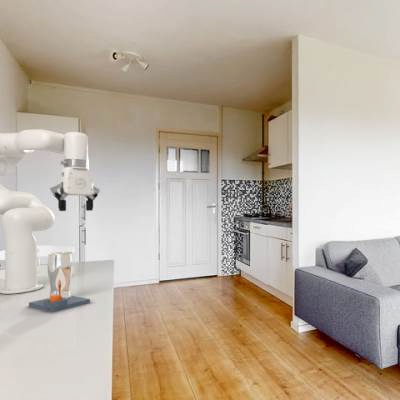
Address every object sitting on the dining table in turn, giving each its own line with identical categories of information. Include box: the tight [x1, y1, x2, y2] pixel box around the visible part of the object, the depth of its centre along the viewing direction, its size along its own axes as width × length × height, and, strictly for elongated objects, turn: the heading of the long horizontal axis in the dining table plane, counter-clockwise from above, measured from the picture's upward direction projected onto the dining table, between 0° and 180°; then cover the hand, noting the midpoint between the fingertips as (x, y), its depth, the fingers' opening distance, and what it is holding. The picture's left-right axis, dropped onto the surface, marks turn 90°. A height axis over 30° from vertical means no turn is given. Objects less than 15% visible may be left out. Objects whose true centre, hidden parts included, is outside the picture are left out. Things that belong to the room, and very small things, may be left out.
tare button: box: [49, 294, 62, 302], centre depth 105 cm, size 3×3×2 cm
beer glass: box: [46, 251, 74, 299], centre depth 113 cm, size 7×7×15 cm
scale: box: [28, 295, 91, 313], centre depth 110 cm, size 14×12×3 cm
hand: (76, 210), depth 129 cm, fingers open, 9 cm apart
